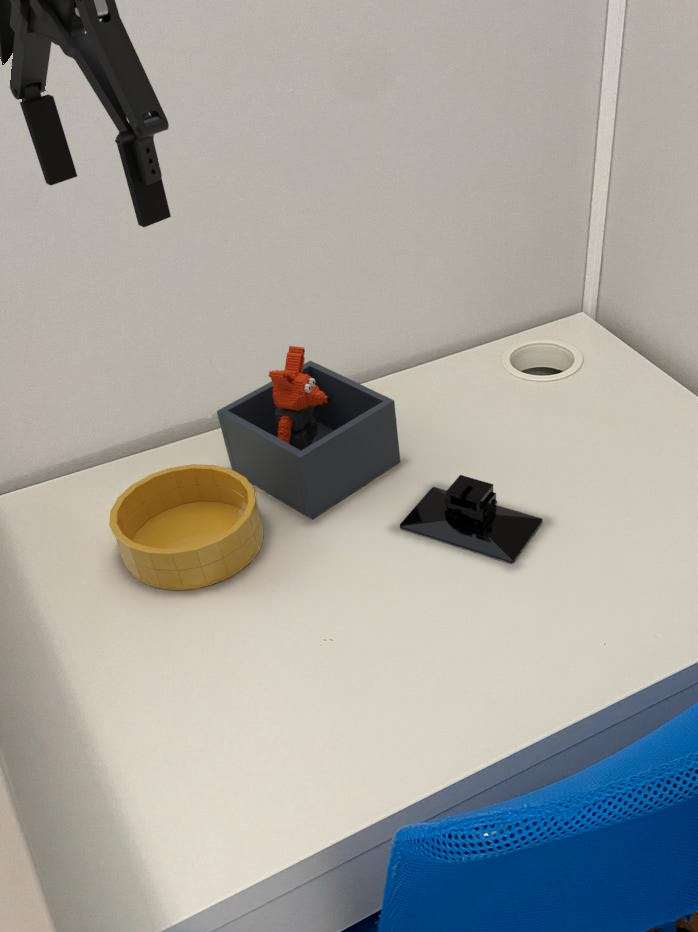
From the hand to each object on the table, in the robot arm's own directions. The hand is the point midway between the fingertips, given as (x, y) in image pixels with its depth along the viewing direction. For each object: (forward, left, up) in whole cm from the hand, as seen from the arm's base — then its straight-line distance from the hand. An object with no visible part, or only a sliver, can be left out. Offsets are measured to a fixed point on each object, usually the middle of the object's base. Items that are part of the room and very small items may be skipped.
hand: (106, 200), depth 80 cm
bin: (+11, +8, -27) cm, 31 cm away
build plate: (+30, +12, -28) cm, 43 cm away
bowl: (+11, -8, -27) cm, 31 cm away
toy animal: (+12, +8, -27) cm, 31 cm away
